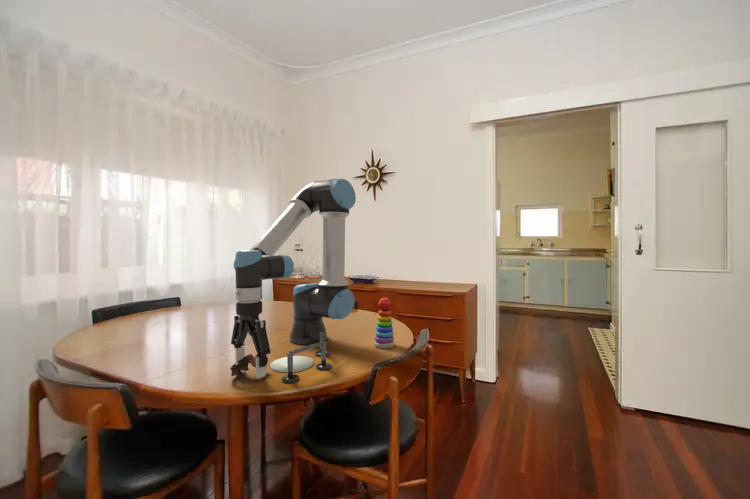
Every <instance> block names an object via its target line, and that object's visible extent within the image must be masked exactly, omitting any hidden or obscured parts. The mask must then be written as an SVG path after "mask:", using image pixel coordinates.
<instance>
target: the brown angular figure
mask: <svg viewBox="0 0 750 499" xmlns="http://www.w3.org/2000/svg"><path fill="white" fill-rule="evenodd" d="M268 361H269V358H268V356H267V355H266V366H267V365H268ZM249 364H250V365H251V366H252V367H253V368H254V369H256V356H254V355H253V354H252V353H249V354H247V355H245V357H244V358H242V359H241V360H239V361H238V365H236V363H234V364H232V366H230V368H229V369H230V371H231V374H230V375H231V377H234V376H236V377H239V376H238V375H240V376H241V375H242V373H243V372H247V371H249V370H250V369H249ZM266 377H267V375H266V376H264V377H261V378H258V379H257V378H256V377H255V379H256V381H257V382H258V383H260V382H259V381H261V382H262V381H264V380H265V379H266Z"/></svg>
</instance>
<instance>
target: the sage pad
mask: <svg viewBox="0 0 750 499" xmlns="http://www.w3.org/2000/svg"><path fill="white" fill-rule="evenodd" d="M314 364H315V362H314V359H313V358H311V357H308V356H305V355H304V356H302V355H293V373H297V372H298V373H299V372H302V371H306V370H308V369H310V368H312V367H313V366H314ZM269 365H270V369H271V370H272V369H273V370H272V371H275V372H277V373H284V372H285V374H286V373H287V374H288V364H287V356H285V357H281V358H278V359H275V360H274V361H272V362H270V364H269Z"/></svg>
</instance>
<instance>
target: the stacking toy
mask: <svg viewBox="0 0 750 499" xmlns="http://www.w3.org/2000/svg"><path fill="white" fill-rule="evenodd" d="M377 305H378V307H379V310H378V312H377V313H378V315H377V321H376V327H375V328H376V331H375V336H374V338H373V339H374V343H373V345H374V347H376V348H379V349H391V348H393V347H394V346H395V345H396V344H395V343H396V342H395V341H394V339H395V337H394V334H395V333H394V327H393V321H392V316H391V315H392V311H391V308H392V301H391V300H390V298H388V297H382V298H380V299H379V300H378V304H377Z"/></svg>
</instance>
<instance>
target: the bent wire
mask: <svg viewBox="0 0 750 499" xmlns="http://www.w3.org/2000/svg"><path fill="white" fill-rule="evenodd" d="M318 347H319V350H317V351H316V352H315V353H314V354H315V355H314V356H315V357H318V358H319V357H320V359H321V360H320V362H321V363H317V364H316V365H315V369H316V370H317V371H326V370H327V371H328V370H331V368H332V363H329V362H327V357H328V356H329V355H330V351H328V350H327V342H326V340H325V339H324V332H323V331H321V332H320V342H318V343H314V344H307V345H305V346H302V347H299V348H295V349H292V350H288V352H287V356H286V357H287V364H288V373H287V375H284V376H282V377H281V382H282V383H284V384H292V383H293V384H294V383H297V382H298V381H299V380H300V376H299V375H298V374H294V372H293V356H294V355H296V354H300V353H302V352H306V351H309V350H312V349H313V350H314V349H315V348H318Z"/></svg>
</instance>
